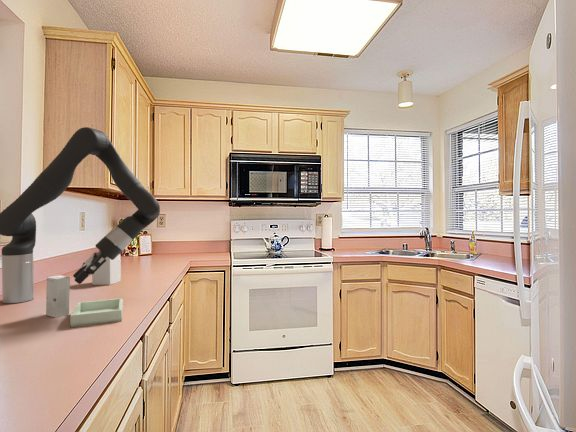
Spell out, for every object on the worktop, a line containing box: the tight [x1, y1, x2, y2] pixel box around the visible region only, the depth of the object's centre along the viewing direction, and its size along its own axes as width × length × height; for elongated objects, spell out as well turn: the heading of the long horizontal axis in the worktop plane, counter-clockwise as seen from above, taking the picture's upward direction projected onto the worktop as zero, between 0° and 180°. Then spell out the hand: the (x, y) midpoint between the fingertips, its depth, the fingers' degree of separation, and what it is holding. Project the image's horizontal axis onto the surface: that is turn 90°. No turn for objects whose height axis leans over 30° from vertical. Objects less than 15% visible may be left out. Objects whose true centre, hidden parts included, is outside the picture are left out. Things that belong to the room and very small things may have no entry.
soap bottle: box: [91, 253, 122, 286], centre depth 161 cm, size 9×9×19 cm
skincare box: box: [45, 274, 71, 318], centre depth 111 cm, size 6×4×12 cm
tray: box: [69, 297, 124, 328], centre depth 109 cm, size 16×13×3 cm
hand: (75, 280), depth 114 cm, fingers open, 8 cm apart
